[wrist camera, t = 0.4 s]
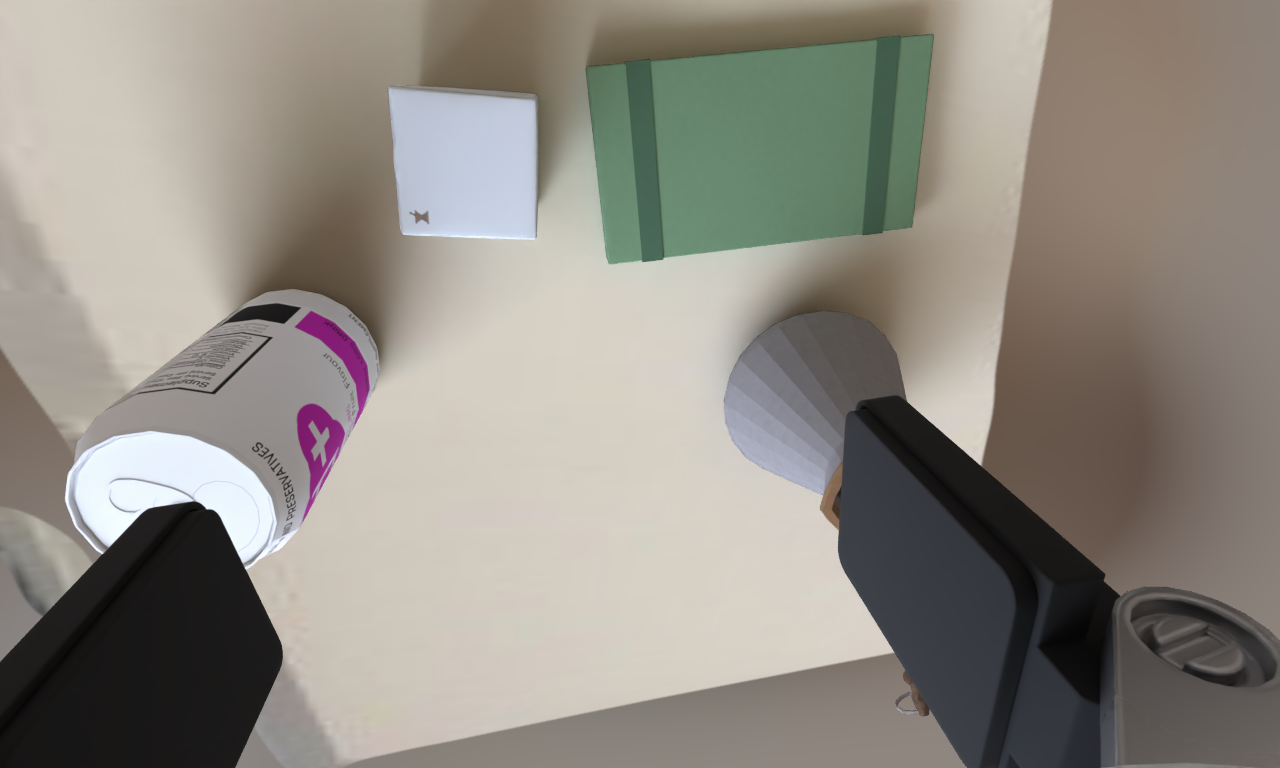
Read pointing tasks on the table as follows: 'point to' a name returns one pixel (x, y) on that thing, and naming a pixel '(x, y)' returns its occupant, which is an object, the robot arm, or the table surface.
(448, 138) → the product box
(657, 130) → the dish towel
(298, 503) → the supplement can
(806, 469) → the coffee pot
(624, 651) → the table surface
